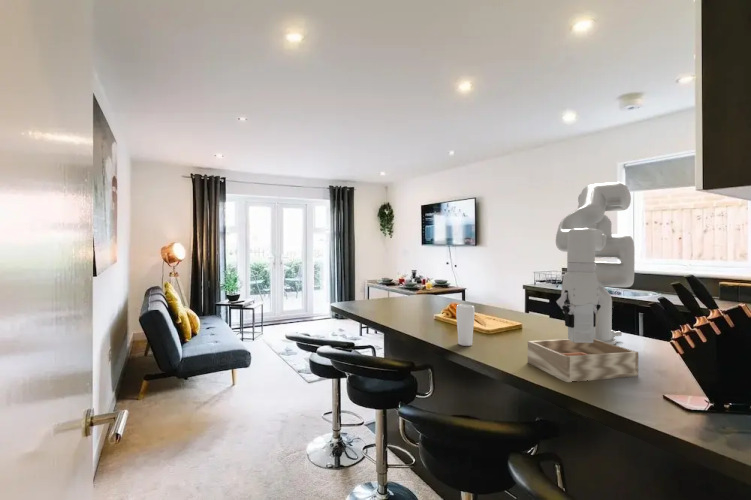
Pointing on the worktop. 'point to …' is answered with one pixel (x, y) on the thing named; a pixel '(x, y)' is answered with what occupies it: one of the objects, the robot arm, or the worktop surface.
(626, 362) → the box
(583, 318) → the skincare box
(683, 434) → the worktop surface
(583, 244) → the robot arm
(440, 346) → the worktop surface
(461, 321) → the drinking glass
